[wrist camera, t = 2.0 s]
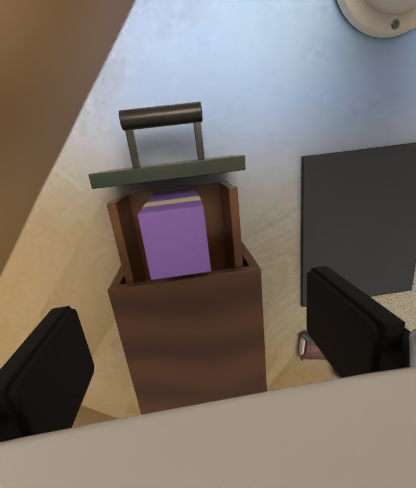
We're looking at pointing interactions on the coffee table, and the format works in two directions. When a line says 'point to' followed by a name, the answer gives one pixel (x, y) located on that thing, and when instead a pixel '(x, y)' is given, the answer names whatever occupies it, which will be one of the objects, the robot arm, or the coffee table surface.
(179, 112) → the drawer
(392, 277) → the mat
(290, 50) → the coffee table surface
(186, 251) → the snack box
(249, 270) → the cabinet
